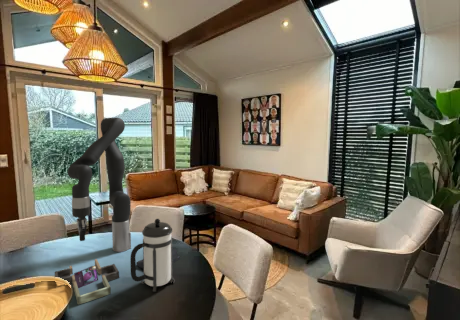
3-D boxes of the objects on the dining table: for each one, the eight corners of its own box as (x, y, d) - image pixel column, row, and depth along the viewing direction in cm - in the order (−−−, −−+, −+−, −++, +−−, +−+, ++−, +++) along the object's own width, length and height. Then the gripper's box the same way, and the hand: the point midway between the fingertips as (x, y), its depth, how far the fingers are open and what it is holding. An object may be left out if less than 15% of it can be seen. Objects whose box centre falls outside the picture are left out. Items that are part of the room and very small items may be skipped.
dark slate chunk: (131, 266, 132) (131, 257, 131) (164, 250, 150) (164, 242, 150) (151, 276, 124) (151, 266, 123) (183, 257, 142) (183, 249, 141)
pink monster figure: (74, 273, 112) (96, 265, 119) (70, 273, 115) (91, 265, 122) (77, 289, 111) (99, 280, 118) (73, 288, 115) (94, 279, 122)
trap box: (109, 261, 136) (109, 255, 136) (125, 288, 112) (125, 282, 112) (54, 276, 121) (54, 269, 121) (59, 311, 98) (59, 303, 98)
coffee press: (145, 273, 125) (144, 213, 122) (178, 274, 124) (178, 213, 121) (130, 296, 108) (128, 226, 105) (168, 297, 107) (168, 227, 104)
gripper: (92, 207, 121) (93, 243, 123) (87, 201, 132) (88, 234, 134) (73, 210, 117) (75, 247, 119) (70, 203, 127) (71, 237, 129)
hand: (82, 240), depth 126 cm, fingers closed
